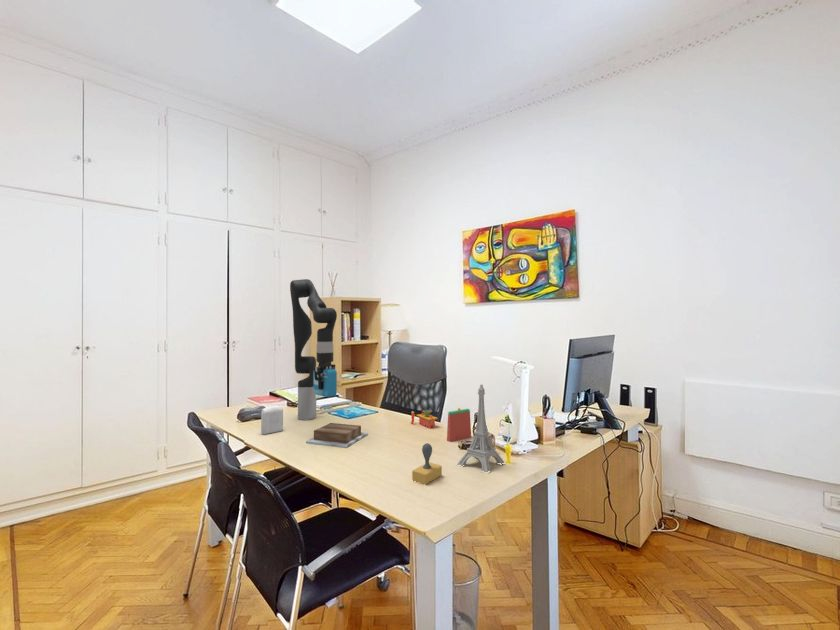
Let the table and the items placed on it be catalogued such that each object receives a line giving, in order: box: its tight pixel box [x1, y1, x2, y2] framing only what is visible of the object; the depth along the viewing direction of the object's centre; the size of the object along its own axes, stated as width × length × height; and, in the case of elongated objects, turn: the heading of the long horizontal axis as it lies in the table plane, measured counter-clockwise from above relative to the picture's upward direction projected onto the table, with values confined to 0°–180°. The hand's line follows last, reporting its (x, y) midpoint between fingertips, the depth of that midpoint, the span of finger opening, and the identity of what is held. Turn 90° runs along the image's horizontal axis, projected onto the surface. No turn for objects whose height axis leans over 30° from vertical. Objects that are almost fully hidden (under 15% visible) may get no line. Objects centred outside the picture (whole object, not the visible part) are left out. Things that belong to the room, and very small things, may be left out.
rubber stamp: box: [411, 442, 443, 485], centre depth 143 cm, size 10×6×12 cm, turn 144°
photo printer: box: [260, 405, 284, 435], centre depth 198 cm, size 10×4×12 cm, turn 134°
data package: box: [313, 368, 338, 398], centre depth 190 cm, size 12×4×12 cm, turn 48°
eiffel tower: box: [456, 384, 505, 472], centre depth 156 cm, size 13×13×30 cm
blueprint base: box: [305, 422, 369, 449], centre depth 187 cm, size 20×20×5 cm
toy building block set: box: [410, 407, 472, 443], centre depth 201 cm, size 12×35×14 cm, turn 33°
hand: (324, 388), depth 189 cm, fingers closed on data package, 5 cm apart
